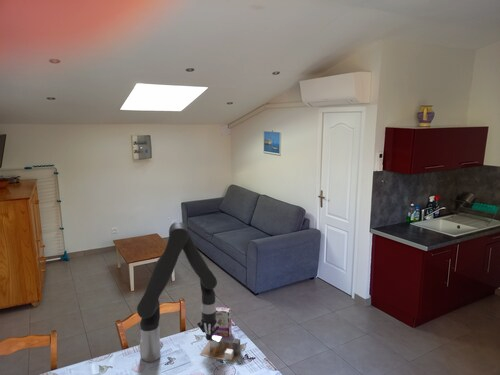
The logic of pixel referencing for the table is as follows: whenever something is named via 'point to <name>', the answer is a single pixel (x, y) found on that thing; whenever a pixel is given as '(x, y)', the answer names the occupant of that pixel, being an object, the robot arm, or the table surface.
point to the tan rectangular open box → (225, 346)
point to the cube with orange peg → (215, 344)
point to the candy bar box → (223, 322)
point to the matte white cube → (229, 354)
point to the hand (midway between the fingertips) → (208, 339)
